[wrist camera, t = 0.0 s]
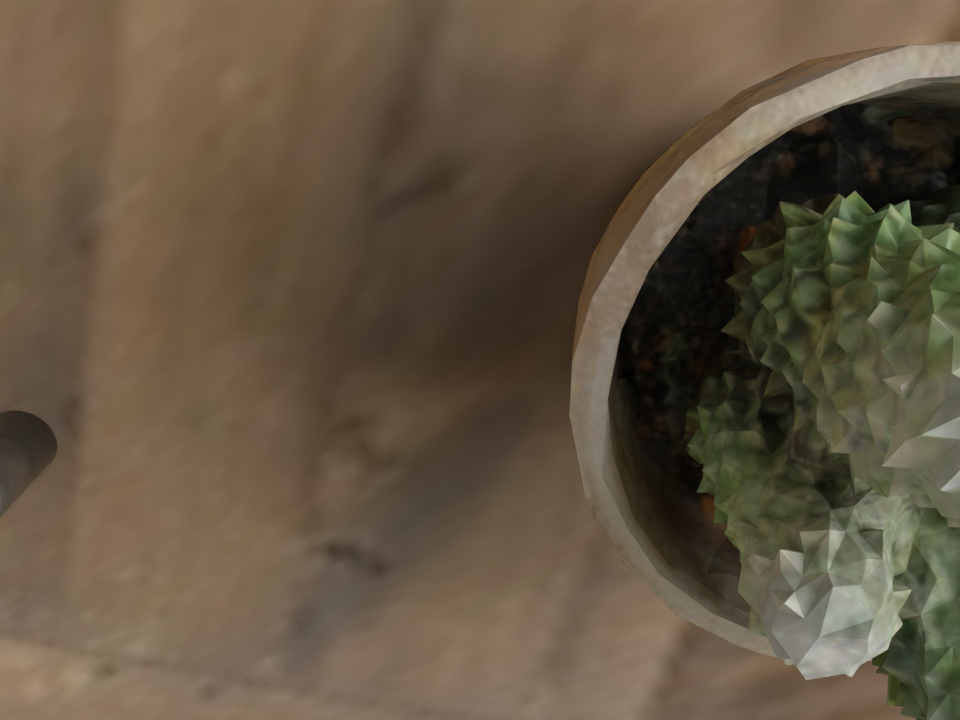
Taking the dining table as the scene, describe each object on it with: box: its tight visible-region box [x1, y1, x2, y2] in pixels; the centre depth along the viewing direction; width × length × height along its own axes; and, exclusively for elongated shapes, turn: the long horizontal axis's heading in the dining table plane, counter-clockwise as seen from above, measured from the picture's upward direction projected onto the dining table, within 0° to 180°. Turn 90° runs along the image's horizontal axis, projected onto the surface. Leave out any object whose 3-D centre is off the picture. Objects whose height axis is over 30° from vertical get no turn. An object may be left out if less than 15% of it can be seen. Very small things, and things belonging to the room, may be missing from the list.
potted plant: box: [569, 41, 960, 720], centre depth 26 cm, size 18×19×25 cm
